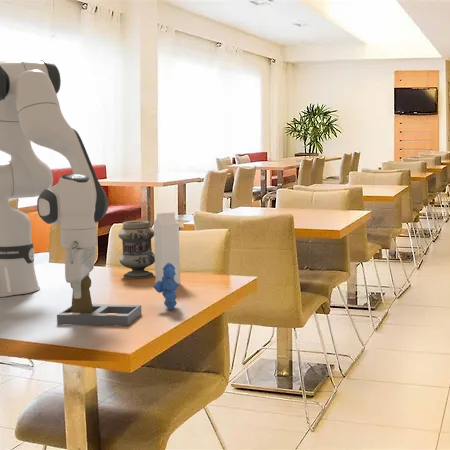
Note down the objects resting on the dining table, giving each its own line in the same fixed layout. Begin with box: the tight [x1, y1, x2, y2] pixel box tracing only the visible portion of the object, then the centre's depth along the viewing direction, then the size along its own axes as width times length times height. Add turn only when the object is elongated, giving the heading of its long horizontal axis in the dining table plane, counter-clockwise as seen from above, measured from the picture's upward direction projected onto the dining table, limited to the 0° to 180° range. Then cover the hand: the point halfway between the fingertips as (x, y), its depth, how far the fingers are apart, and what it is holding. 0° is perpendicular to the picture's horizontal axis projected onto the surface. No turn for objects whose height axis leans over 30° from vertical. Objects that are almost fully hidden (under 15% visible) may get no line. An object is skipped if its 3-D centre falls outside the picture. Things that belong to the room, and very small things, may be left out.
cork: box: [69, 276, 93, 313], centre depth 189 cm, size 6×6×11 cm
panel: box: [56, 303, 143, 327], centre depth 189 cm, size 18×12×3 cm, turn 81°
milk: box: [153, 212, 181, 285], centre depth 233 cm, size 6×6×22 cm
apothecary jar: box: [118, 220, 155, 280], centre depth 247 cm, size 12×12×18 cm
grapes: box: [153, 263, 180, 310], centre depth 199 cm, size 12×7×12 cm, turn 5°
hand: (81, 294), depth 189 cm, fingers open, 8 cm apart
